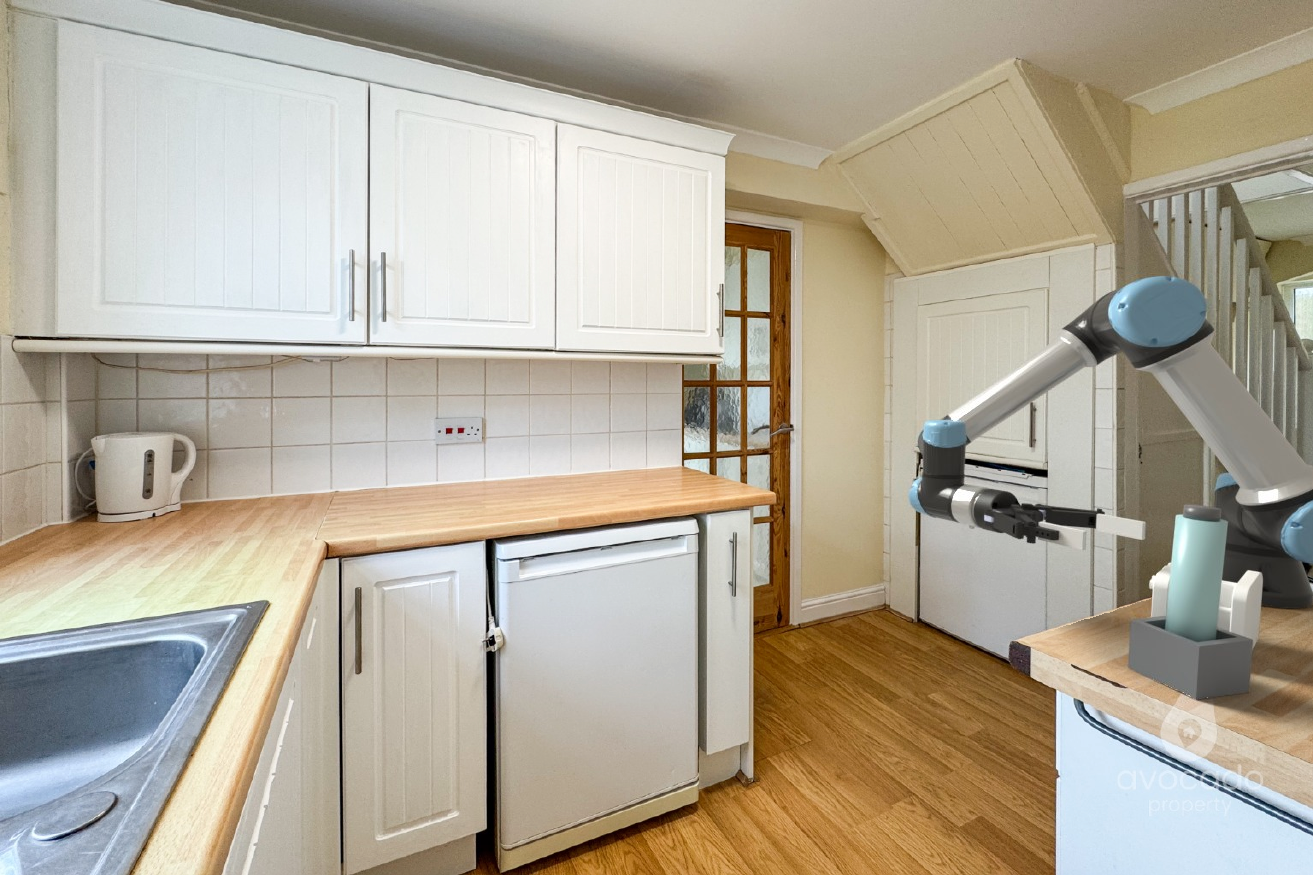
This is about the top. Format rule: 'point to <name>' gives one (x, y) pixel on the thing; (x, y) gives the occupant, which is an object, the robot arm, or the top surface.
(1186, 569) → the teal bottle
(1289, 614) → the top surface
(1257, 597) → the white piece
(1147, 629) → the block
